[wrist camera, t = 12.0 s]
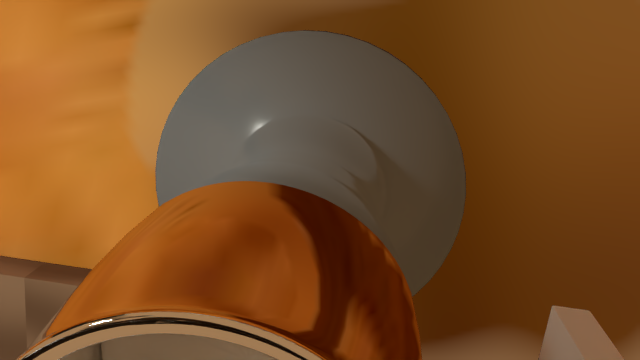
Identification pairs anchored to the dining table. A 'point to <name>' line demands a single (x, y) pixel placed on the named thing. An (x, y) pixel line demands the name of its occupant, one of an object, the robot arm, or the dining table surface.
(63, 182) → the dining table surface
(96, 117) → the dining table surface
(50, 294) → the pocket frame
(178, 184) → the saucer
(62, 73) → the dining table surface
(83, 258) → the dining table surface
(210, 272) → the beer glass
